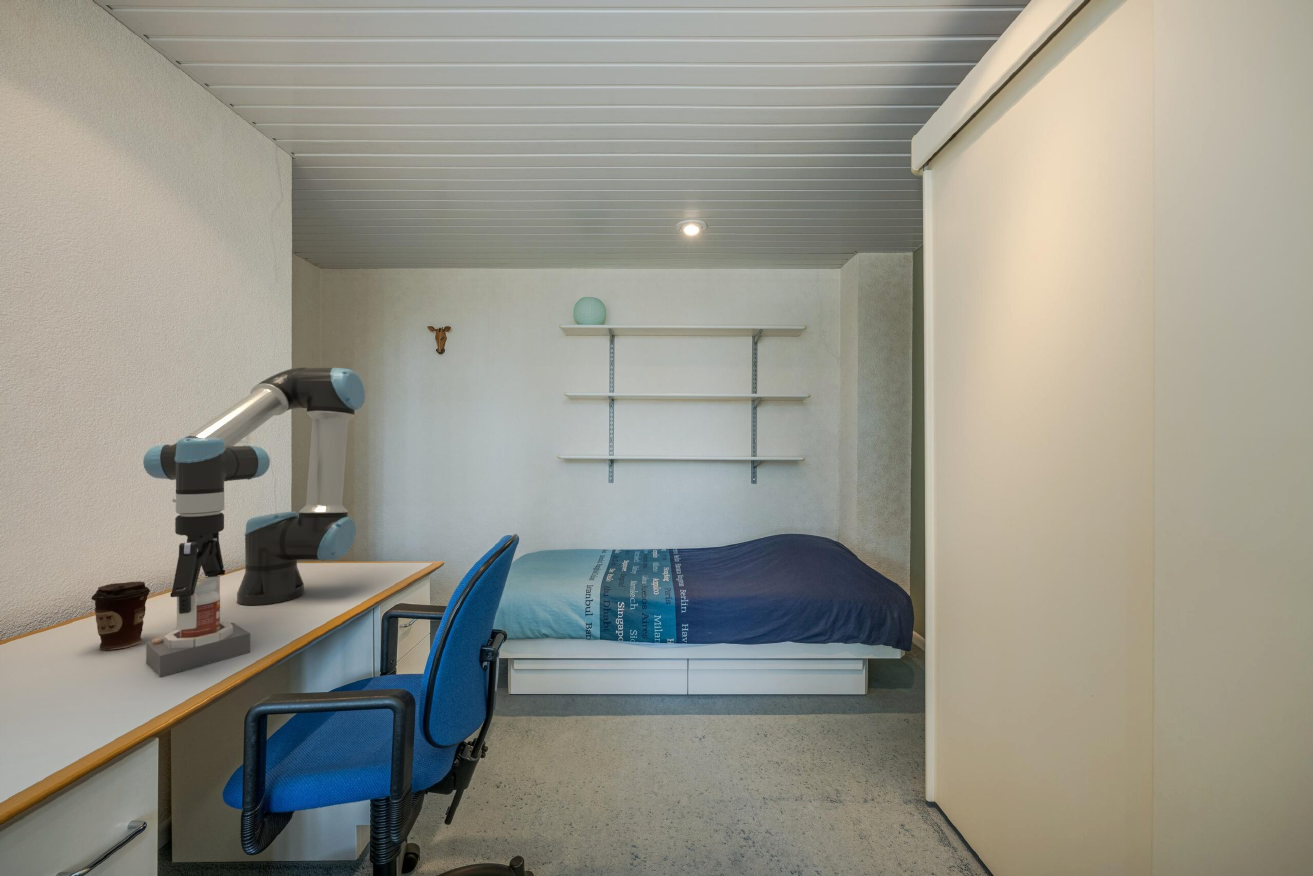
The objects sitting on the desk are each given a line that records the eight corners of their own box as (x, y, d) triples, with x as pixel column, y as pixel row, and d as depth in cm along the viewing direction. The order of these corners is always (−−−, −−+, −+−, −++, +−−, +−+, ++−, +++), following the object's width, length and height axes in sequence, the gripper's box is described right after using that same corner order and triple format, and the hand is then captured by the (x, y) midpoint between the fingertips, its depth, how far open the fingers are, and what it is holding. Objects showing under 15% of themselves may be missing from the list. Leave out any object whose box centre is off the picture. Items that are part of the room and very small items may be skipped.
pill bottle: (224, 636, 108) (225, 582, 108) (185, 646, 103) (186, 589, 103) (213, 630, 112) (214, 577, 112) (175, 639, 106) (176, 584, 106)
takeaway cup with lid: (110, 655, 108) (110, 592, 108) (79, 651, 109) (80, 589, 109) (158, 639, 116) (158, 580, 116) (129, 636, 118) (129, 578, 118)
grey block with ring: (233, 641, 116) (233, 616, 116) (250, 652, 110) (250, 626, 110) (146, 663, 104) (146, 635, 104) (159, 677, 99) (160, 647, 99)
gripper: (199, 506, 117) (198, 601, 117) (148, 524, 94) (147, 642, 94) (241, 504, 120) (240, 597, 120) (201, 521, 97) (200, 636, 97)
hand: (199, 617), depth 107 cm, fingers open, 13 cm apart
